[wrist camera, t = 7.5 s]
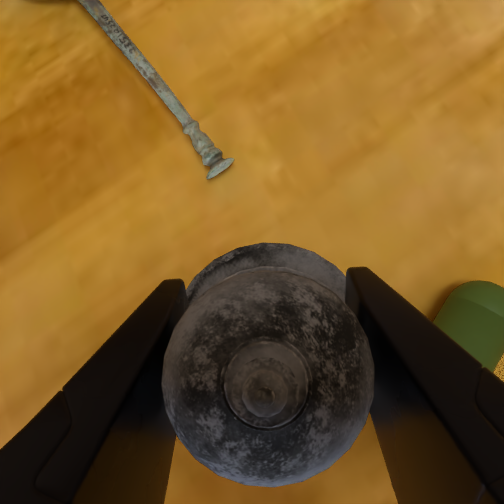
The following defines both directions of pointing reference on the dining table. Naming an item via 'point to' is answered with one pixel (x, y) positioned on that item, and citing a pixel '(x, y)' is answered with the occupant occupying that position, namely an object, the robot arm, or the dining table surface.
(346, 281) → the robot arm
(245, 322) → the chess piece
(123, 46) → the soupspoon
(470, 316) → the pickle
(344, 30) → the dining table surface
